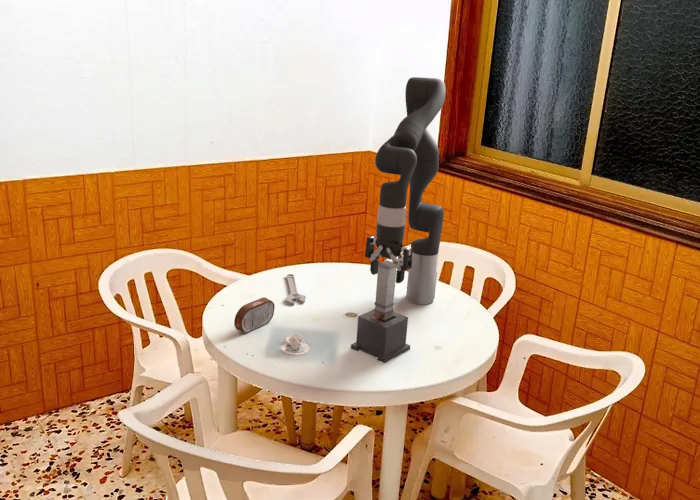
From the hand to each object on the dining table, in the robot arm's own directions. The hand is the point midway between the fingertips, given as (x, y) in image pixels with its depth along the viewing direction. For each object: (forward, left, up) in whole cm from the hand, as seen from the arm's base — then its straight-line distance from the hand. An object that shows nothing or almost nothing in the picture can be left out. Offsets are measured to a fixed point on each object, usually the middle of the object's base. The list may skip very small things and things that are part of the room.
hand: (386, 278), depth 184 cm
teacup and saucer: (+15, -17, -22) cm, 32 cm away
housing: (0, 0, -22) cm, 22 cm away
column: (0, 0, -15) cm, 15 cm away
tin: (+17, -34, -22) cm, 44 cm away
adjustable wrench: (-12, -46, -22) cm, 53 cm away
